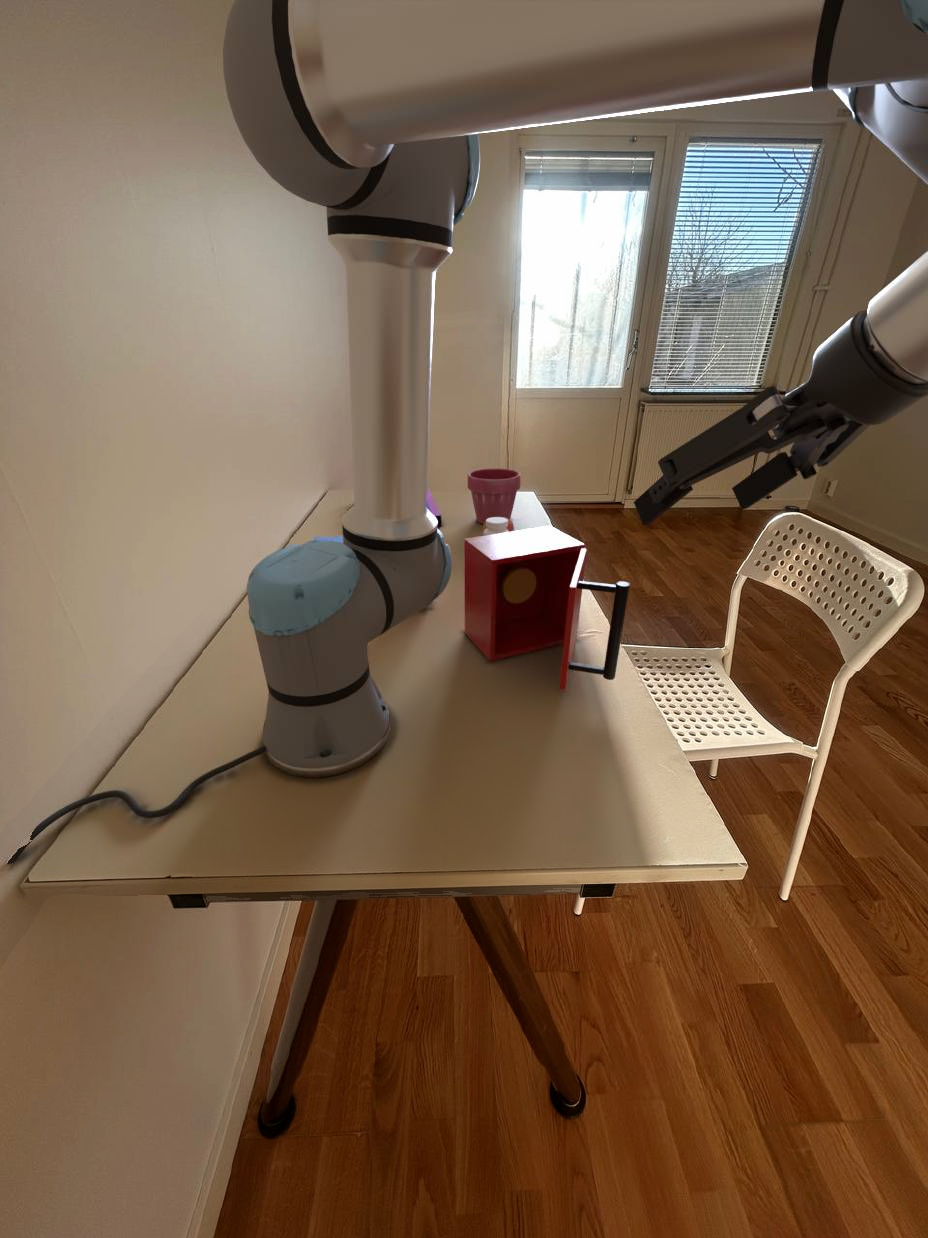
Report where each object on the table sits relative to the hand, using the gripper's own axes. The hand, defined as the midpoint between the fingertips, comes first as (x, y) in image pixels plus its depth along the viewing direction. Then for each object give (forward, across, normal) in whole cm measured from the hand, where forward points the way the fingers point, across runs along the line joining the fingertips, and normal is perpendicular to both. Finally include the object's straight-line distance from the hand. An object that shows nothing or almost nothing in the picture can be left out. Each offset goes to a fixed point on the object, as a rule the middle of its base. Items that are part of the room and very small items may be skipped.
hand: (692, 505), depth 55 cm
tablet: (+73, -27, +34) cm, 85 cm away
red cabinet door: (+27, -1, -11) cm, 29 cm away
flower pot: (+78, +18, +39) cm, 89 cm away
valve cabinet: (+37, -6, -2) cm, 37 cm away
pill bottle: (+58, +5, +19) cm, 62 cm away
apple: (+65, +10, +26) cm, 71 cm away
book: (+91, -4, +52) cm, 105 cm away
